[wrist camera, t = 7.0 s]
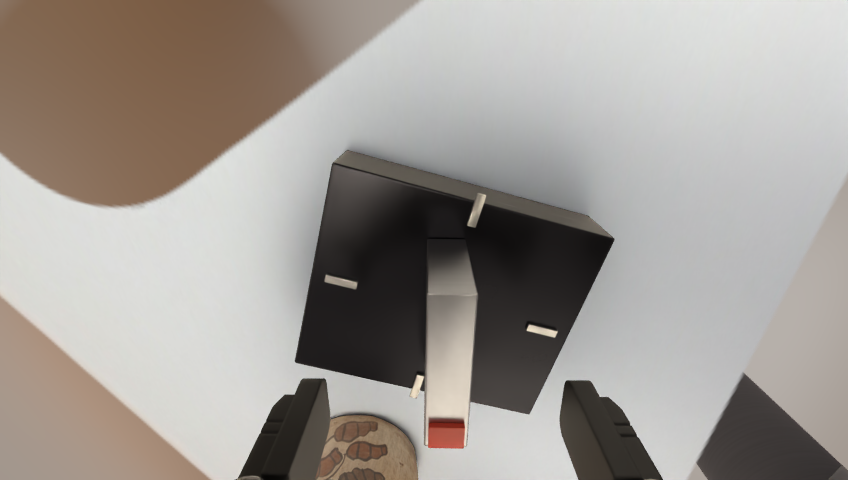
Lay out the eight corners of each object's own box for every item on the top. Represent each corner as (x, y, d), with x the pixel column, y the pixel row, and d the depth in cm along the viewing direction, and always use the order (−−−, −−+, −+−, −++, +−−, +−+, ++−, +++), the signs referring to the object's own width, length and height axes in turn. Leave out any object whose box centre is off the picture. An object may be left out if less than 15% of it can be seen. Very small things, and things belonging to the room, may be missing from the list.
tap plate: (592, 209, 20) (621, 232, 17) (515, 379, 23) (527, 423, 20) (347, 141, 18) (332, 154, 15) (309, 332, 22) (292, 371, 19)
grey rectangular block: (427, 238, 17) (426, 296, 12) (465, 238, 17) (479, 297, 12) (424, 364, 19) (424, 452, 15) (458, 365, 19) (467, 452, 15)
